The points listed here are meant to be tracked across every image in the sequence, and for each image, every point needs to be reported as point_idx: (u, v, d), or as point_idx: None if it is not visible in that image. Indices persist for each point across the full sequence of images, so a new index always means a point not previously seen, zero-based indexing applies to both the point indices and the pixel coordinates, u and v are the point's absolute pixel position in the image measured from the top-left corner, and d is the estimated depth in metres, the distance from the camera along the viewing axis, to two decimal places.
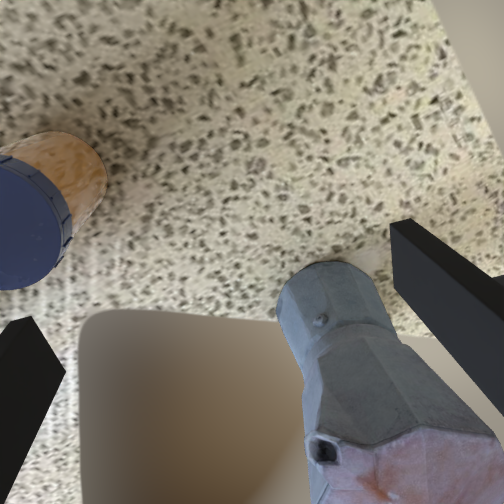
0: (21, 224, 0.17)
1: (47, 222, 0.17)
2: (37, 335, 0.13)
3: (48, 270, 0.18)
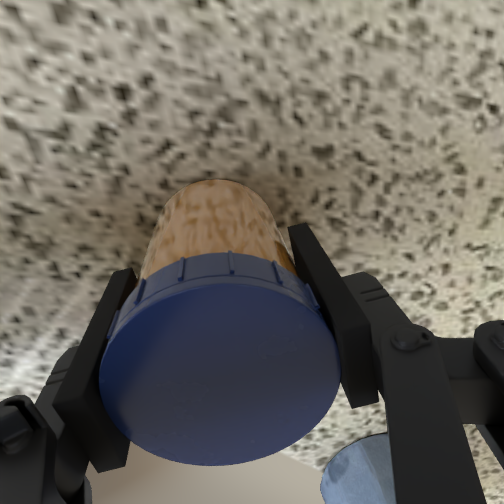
0: (279, 397, 0.10)
1: (314, 408, 0.11)
2: None
3: (256, 458, 0.11)
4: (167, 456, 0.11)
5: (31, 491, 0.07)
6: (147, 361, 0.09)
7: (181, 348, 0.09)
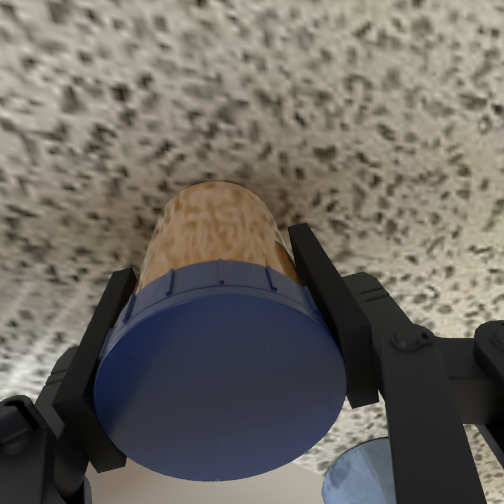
0: (240, 353, 0.09)
1: (259, 315, 0.08)
2: None
3: (340, 359, 0.09)
4: (321, 433, 0.10)
5: (31, 491, 0.07)
6: (193, 456, 0.10)
7: (175, 437, 0.10)
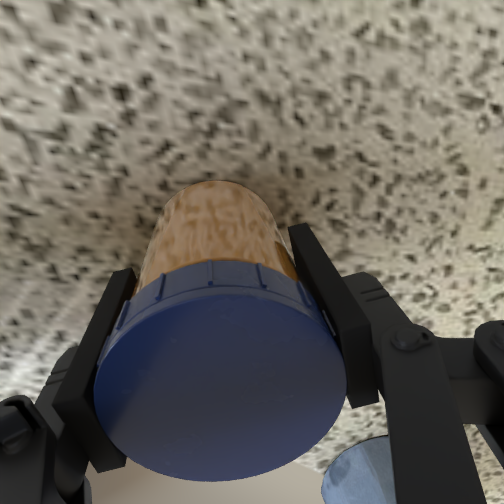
0: (161, 399, 0.09)
1: (112, 391, 0.09)
2: None
3: (159, 314, 0.08)
4: (279, 308, 0.08)
5: (31, 491, 0.07)
6: (301, 416, 0.10)
7: (271, 431, 0.10)
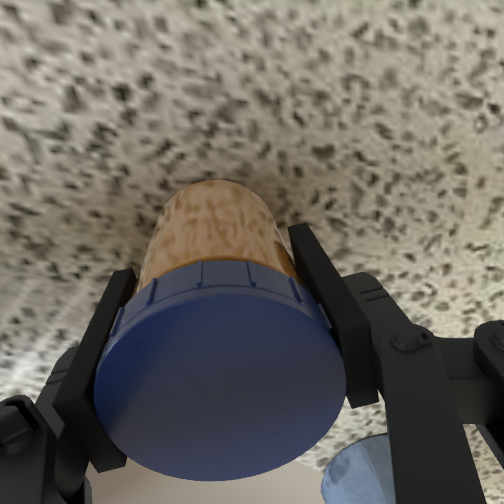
0: (221, 444, 0.10)
1: (213, 472, 0.11)
2: None
3: (125, 452, 0.10)
4: (101, 378, 0.09)
5: (31, 491, 0.07)
6: (248, 334, 0.09)
7: (270, 358, 0.09)
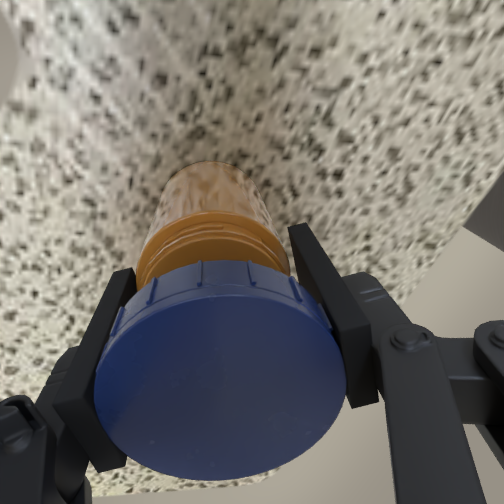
0: (221, 444, 0.10)
1: (212, 471, 0.11)
2: None
3: (125, 452, 0.10)
4: (101, 378, 0.09)
5: (31, 491, 0.07)
6: (248, 334, 0.09)
7: (270, 358, 0.09)
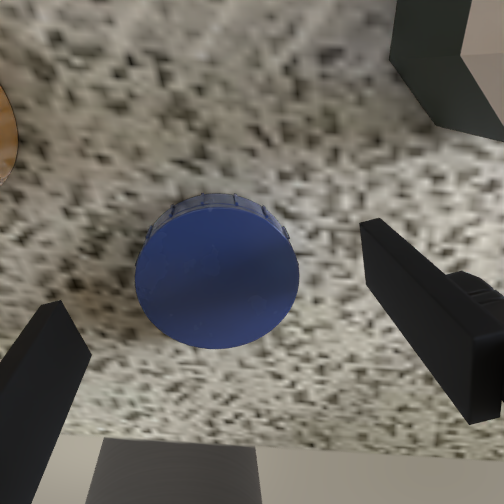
0: (216, 319, 0.15)
1: (211, 341, 0.16)
2: (66, 319, 0.14)
3: (153, 322, 0.15)
4: (140, 264, 0.14)
5: None
6: (233, 235, 0.14)
7: (247, 253, 0.14)
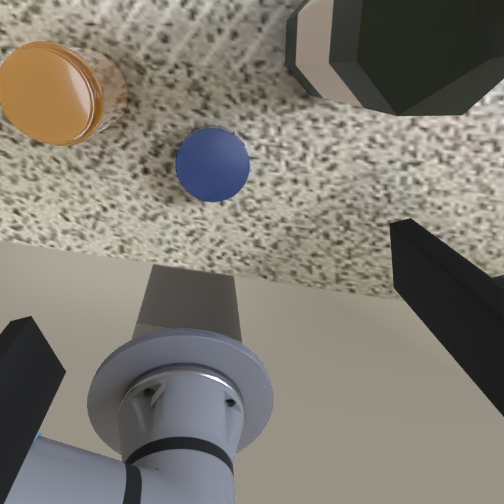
0: (212, 184, 0.33)
1: (209, 196, 0.34)
2: (37, 335, 0.13)
3: (183, 185, 0.33)
4: (178, 154, 0.32)
5: None
6: (219, 141, 0.32)
7: (225, 150, 0.32)
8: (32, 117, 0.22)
